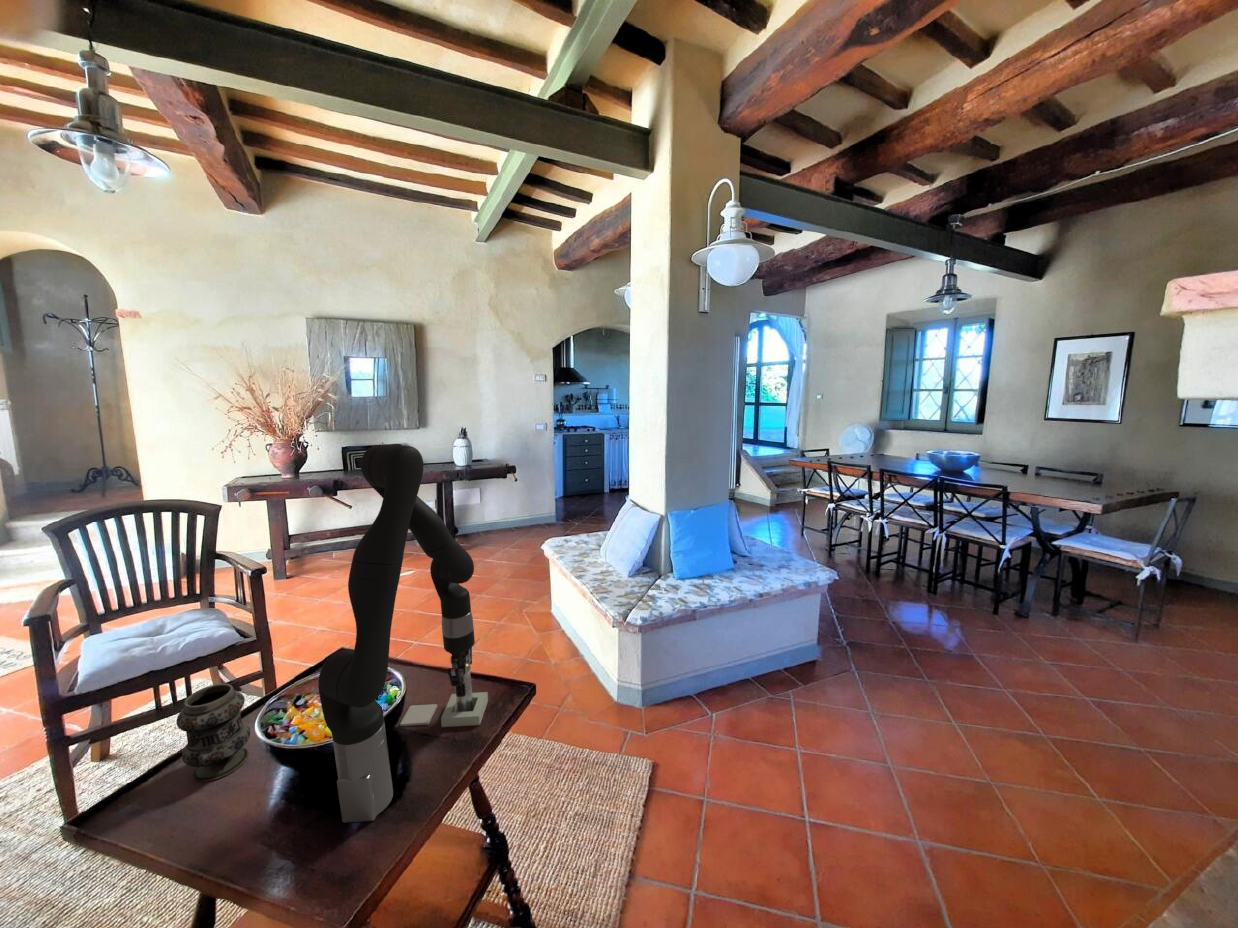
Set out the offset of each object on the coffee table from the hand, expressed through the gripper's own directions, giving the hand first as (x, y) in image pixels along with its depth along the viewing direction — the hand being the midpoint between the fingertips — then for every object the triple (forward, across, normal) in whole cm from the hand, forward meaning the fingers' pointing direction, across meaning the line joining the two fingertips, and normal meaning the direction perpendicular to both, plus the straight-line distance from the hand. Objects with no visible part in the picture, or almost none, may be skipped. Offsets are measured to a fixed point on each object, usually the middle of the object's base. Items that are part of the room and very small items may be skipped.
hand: (463, 689), depth 125 cm
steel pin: (+7, 0, 0) cm, 7 cm away
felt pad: (+7, 0, +12) cm, 14 cm away
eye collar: (+7, 0, 0) cm, 7 cm away
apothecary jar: (+7, -13, +52) cm, 54 cm away
